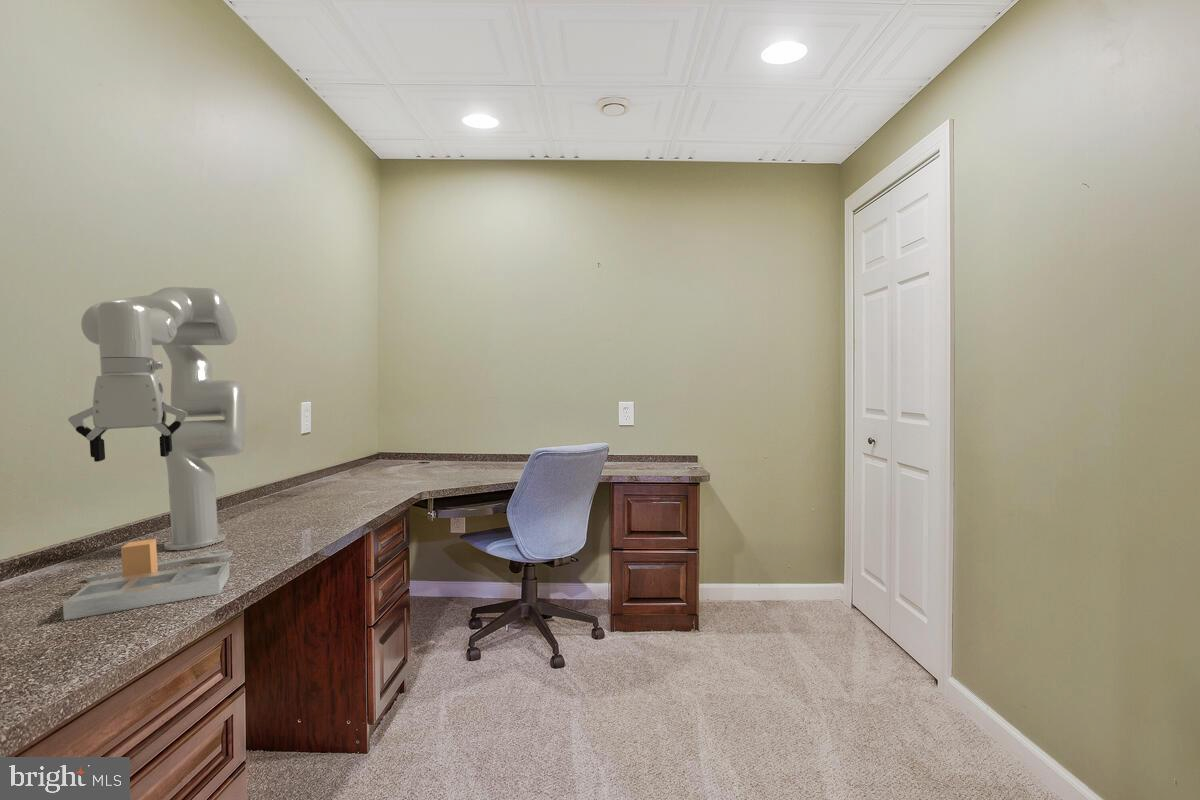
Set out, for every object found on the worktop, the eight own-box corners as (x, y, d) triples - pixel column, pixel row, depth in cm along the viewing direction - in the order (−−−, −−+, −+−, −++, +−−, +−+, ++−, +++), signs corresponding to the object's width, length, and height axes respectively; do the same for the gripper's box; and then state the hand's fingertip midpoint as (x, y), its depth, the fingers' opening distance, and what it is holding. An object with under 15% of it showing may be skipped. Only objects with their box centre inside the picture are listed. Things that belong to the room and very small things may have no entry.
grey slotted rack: (84, 586, 111) (83, 577, 111) (92, 577, 116) (92, 569, 116) (231, 560, 124) (230, 552, 124) (232, 553, 130) (231, 546, 130)
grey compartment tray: (91, 597, 103) (90, 581, 103) (229, 575, 113) (229, 560, 113) (63, 620, 92) (62, 603, 92) (219, 593, 102) (218, 578, 102)
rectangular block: (130, 580, 112) (128, 542, 112) (158, 576, 114) (155, 538, 114) (123, 587, 108) (121, 547, 108) (151, 582, 110) (149, 544, 110)
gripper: (188, 368, 109) (193, 452, 110) (74, 370, 101) (80, 460, 102) (179, 366, 103) (185, 456, 103) (57, 368, 95) (63, 465, 95)
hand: (133, 458), depth 102 cm, fingers open, 9 cm apart
